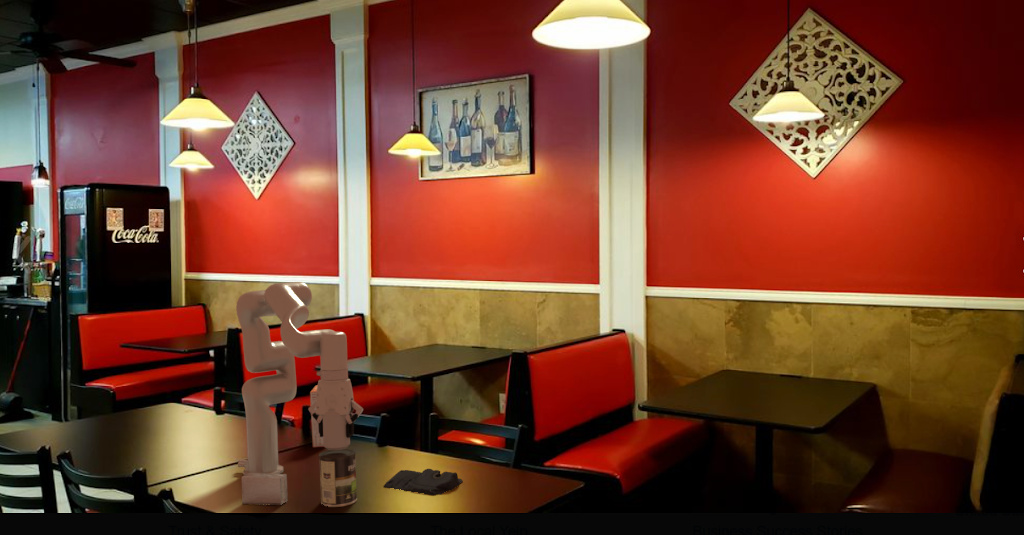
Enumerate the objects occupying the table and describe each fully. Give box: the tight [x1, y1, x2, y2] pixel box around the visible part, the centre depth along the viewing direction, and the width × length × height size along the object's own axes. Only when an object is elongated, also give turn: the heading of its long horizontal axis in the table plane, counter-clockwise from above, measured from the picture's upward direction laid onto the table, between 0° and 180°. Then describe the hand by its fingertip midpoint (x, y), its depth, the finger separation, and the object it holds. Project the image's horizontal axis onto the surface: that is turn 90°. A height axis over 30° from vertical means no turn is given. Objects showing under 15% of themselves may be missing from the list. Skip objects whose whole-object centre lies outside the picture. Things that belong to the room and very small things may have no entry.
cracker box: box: [309, 384, 325, 448], centre depth 299 cm, size 14×6×21 cm, turn 5°
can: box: [323, 409, 351, 451], centre depth 229 cm, size 8×8×12 cm
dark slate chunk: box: [383, 468, 464, 496], centre depth 243 cm, size 15×22×5 cm
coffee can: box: [318, 448, 358, 508], centre depth 229 cm, size 10×10×14 cm
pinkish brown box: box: [241, 473, 289, 506], centre depth 230 cm, size 12×4×8 cm, turn 78°
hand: (336, 435), depth 229 cm, fingers closed on can, 7 cm apart
